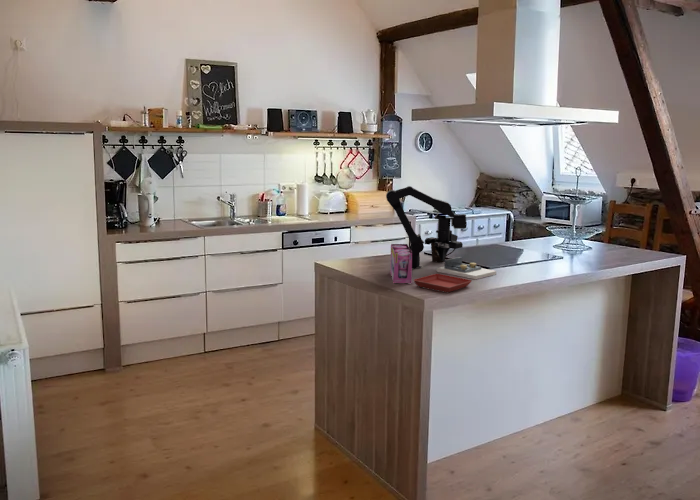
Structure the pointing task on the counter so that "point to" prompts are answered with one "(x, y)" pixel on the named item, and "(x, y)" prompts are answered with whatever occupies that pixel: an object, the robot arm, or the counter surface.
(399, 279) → the gum box
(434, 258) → the coffee mug
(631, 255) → the counter surface
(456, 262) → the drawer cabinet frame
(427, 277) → the plant saucer
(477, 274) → the board
